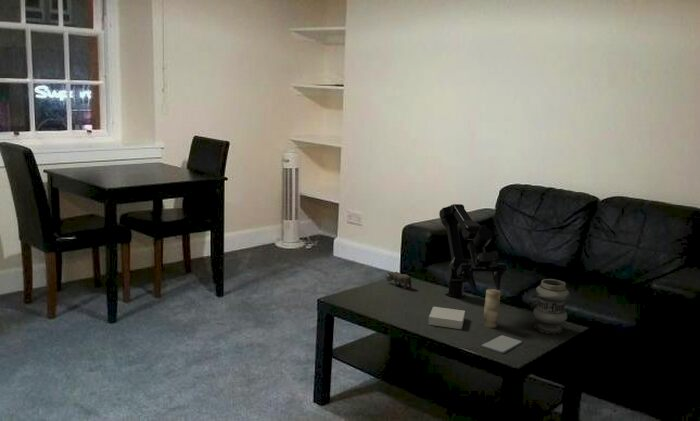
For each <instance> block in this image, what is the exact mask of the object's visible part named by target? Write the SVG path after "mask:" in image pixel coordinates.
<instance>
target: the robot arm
mask: <svg viewBox="0 0 700 421" xmlns="http://www.w3.org/2000/svg"><path fill="white" fill-rule="evenodd" d="M439 219H440V222H441V225H442V226H444V227H445V229H446V234H447V239H448V240H447V241H448V246H449V253H450V258H451V260H450V263H449V265H448V270H447V271H446V273H445V274H444V276H445V277H444V278H445V281H446V282H448V283H449V285H448V292H446V293H445V294H444V295H445V296H449V297H451V298H455V299H460V298H463V297H466V296H467V294H466V293H464V284H465V283H467V284H468V285H469V286H470V287H471V288H472V289H473V290H474V292H476V291H477V289H478V288H477V284H476V281H475V278H474V273H492V276H493V277H492V280H493V283H494V285H495V288H496V290H499V291H500V289H501V288H500V287H501V280H502V277H503V276H505V274H506V273H507V272H508V270H509V267H508V264H506V263H504V262H503V263H501V262H500V263H496V264H495V265H494V266H491V265H492V262H495V260H498V259H499V253H498V252H499V251H498V250H492V251H490V252H487V251H486V249H485V247H487V246H488V245H489V243H490V242H491V240H492V239H493V237H494V233H493V231H492V230H491V229H490V228H489V227H487V226H486V224H479V222H476V221H474V220H473V219H472V218H471V216H470V215H469V213H468V212H467V211H466V209H465V206H464V204H458V203H457V204H456V203H453V204H451V205H448V206H446V207H442V208H441V209H440V210H439ZM458 225H460V227H461V235H462V237H463V239H464V240H466V241H467V240H469V242H468V244H467V246H466V247H467V248H466V249H467V250H469V253H470V262H471V263H472V264H471V263H470V262H469V260H468V259H465V258H464V256H463V249H462V244H461V243H462V242H461V238H460V232H459V226H458ZM472 265H473V266H472Z"/></svg>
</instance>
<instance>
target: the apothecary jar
mask: <svg viewBox="0 0 700 421" xmlns="http://www.w3.org/2000/svg"><path fill="white" fill-rule="evenodd" d="M566 285H567V284H566V282H565V281H562V280H558V279H555V278H554V279H553V278H545V279H542V280H541V281H540V284H539V285H537V287H536V289H535V295H537V305H536V307H534V309H533V310H532V311H533V312H532V314H533V316H534V318H535V319H536V320H537V321H539V322H538V323H536V324H535V325H534V329H536V330H538V332H541V333H544V332H545V333H544V334H549V333H559V334H561V333H563V329H562V327H561V326H559V325H561V324H563V323H565V321H567V319H568V314H567V311H566V309H565V307H566V300H567V299H568V298H570V291H569V289H567V288H566V287H567V286H566ZM560 332H561V333H560Z"/></svg>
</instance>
